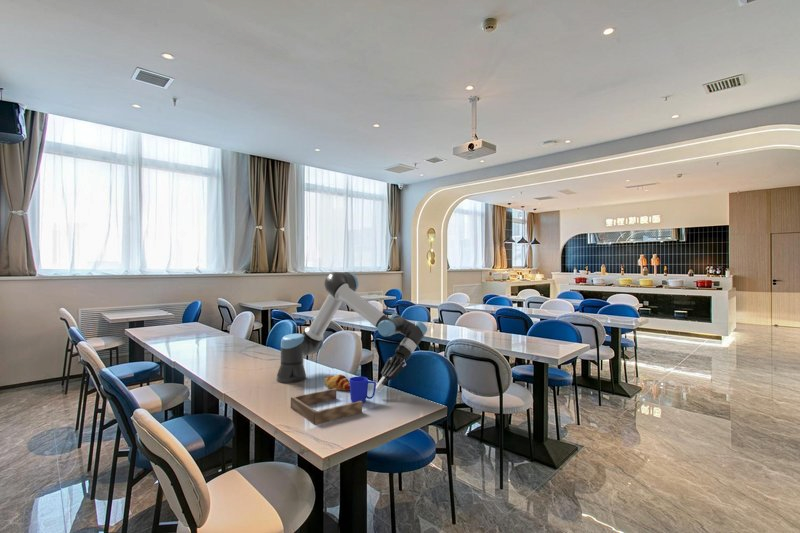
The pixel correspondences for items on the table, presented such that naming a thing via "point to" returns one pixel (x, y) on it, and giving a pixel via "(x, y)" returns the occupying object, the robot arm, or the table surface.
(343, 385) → the croissant
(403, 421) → the table surface
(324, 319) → the robot arm
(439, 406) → the table surface
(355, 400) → the mug
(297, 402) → the box
